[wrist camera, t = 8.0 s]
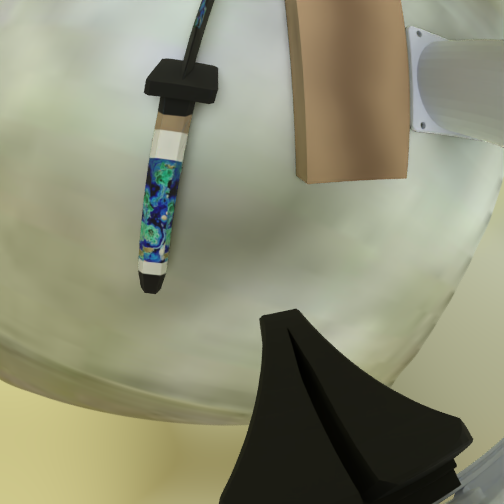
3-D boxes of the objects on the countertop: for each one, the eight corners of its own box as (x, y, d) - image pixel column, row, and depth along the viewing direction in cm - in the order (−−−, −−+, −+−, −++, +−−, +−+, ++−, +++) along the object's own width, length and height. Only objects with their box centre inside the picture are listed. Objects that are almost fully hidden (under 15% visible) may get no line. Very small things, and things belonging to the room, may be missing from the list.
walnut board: (366, -70, 8) (379, -80, 6) (389, 170, 18) (406, 178, 16) (271, -89, 7) (279, -103, 6) (296, 175, 17) (307, 184, 16)
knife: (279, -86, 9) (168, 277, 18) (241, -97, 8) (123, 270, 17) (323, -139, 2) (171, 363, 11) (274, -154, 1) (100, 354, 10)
